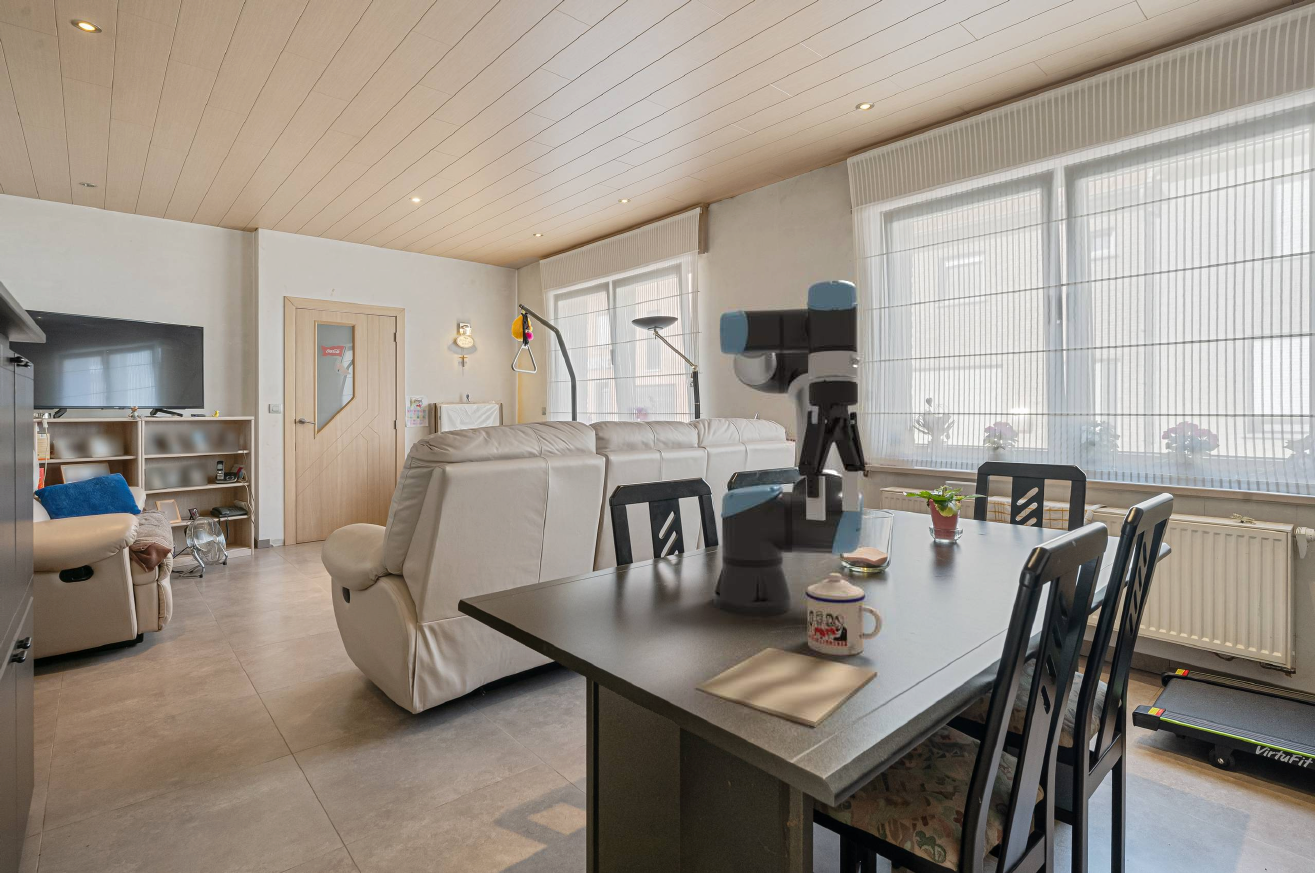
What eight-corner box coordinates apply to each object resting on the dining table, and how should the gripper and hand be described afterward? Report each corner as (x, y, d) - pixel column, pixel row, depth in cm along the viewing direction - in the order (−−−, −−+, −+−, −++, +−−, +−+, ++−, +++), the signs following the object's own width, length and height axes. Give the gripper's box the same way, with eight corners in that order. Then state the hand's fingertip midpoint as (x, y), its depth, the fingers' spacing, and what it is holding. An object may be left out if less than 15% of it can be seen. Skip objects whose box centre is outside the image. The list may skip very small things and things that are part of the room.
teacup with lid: (795, 648, 103) (795, 575, 103) (822, 634, 110) (821, 565, 110) (869, 665, 95) (868, 586, 95) (893, 649, 102) (892, 575, 102)
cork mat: (695, 692, 86) (695, 687, 86) (769, 651, 102) (769, 647, 102) (815, 726, 76) (815, 721, 76) (877, 675, 91) (876, 671, 91)
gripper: (821, 374, 91) (823, 525, 91) (884, 383, 111) (885, 508, 111) (773, 377, 96) (775, 521, 96) (841, 386, 115) (842, 506, 115)
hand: (834, 515), depth 103 cm, fingers open, 13 cm apart
